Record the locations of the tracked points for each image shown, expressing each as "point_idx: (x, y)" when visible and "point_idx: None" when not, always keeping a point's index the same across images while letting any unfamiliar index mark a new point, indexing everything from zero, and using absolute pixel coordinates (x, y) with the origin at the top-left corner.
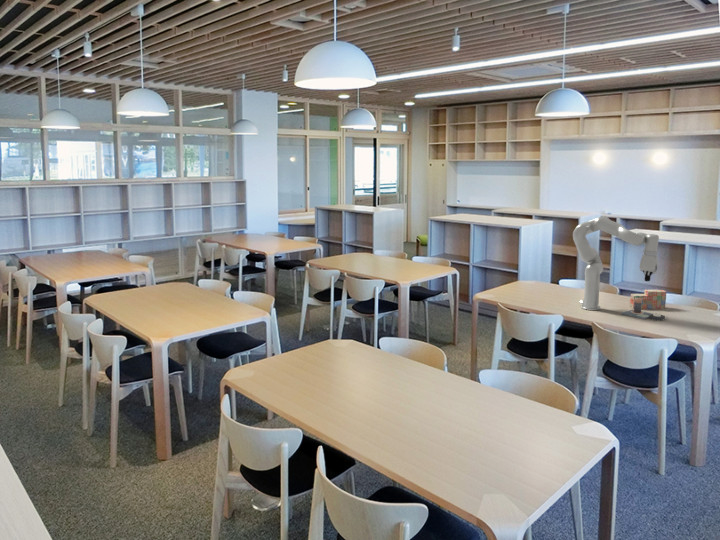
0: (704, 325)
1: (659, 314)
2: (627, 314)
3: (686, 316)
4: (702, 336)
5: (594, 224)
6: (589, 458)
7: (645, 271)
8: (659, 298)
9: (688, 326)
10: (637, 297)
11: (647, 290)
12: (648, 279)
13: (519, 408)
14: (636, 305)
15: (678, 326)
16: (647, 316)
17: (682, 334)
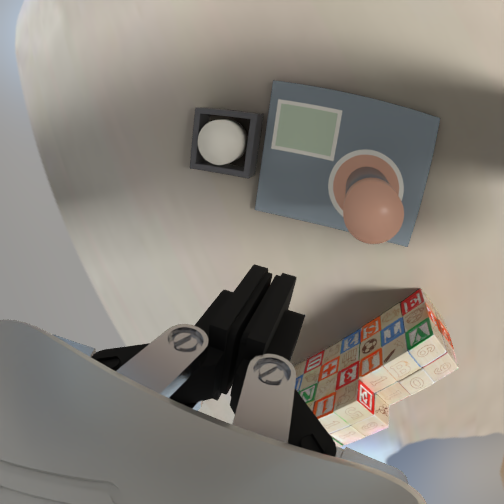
0: (71, 192)
1: (206, 145)
2: (394, 104)
3: (167, 289)
4: (34, 51)
5: None
6: None
7: (243, 421)
8: (305, 394)
9: (90, 127)
10: (414, 340)
11: (369, 420)
12: (225, 293)
13: None
14: (371, 175)
15: (110, 92)
16: (276, 126)
17: (71, 10)
